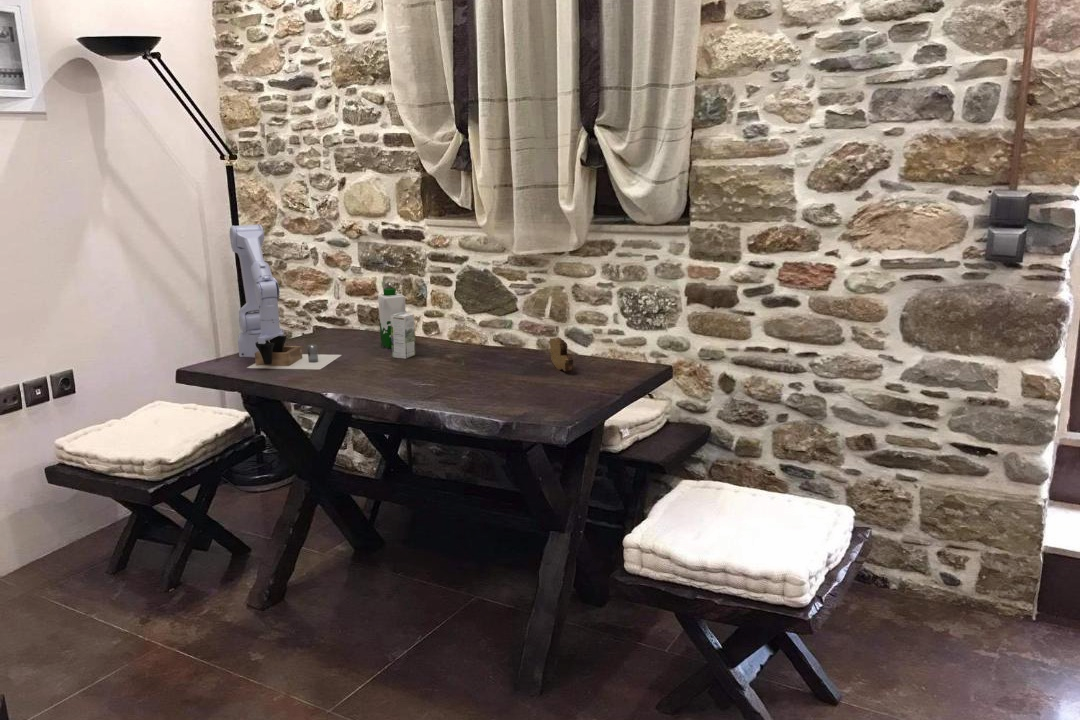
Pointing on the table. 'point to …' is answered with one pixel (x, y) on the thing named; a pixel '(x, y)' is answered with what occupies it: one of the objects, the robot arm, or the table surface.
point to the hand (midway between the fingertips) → (273, 361)
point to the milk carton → (389, 313)
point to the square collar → (282, 356)
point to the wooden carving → (560, 354)
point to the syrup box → (403, 335)
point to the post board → (306, 361)
